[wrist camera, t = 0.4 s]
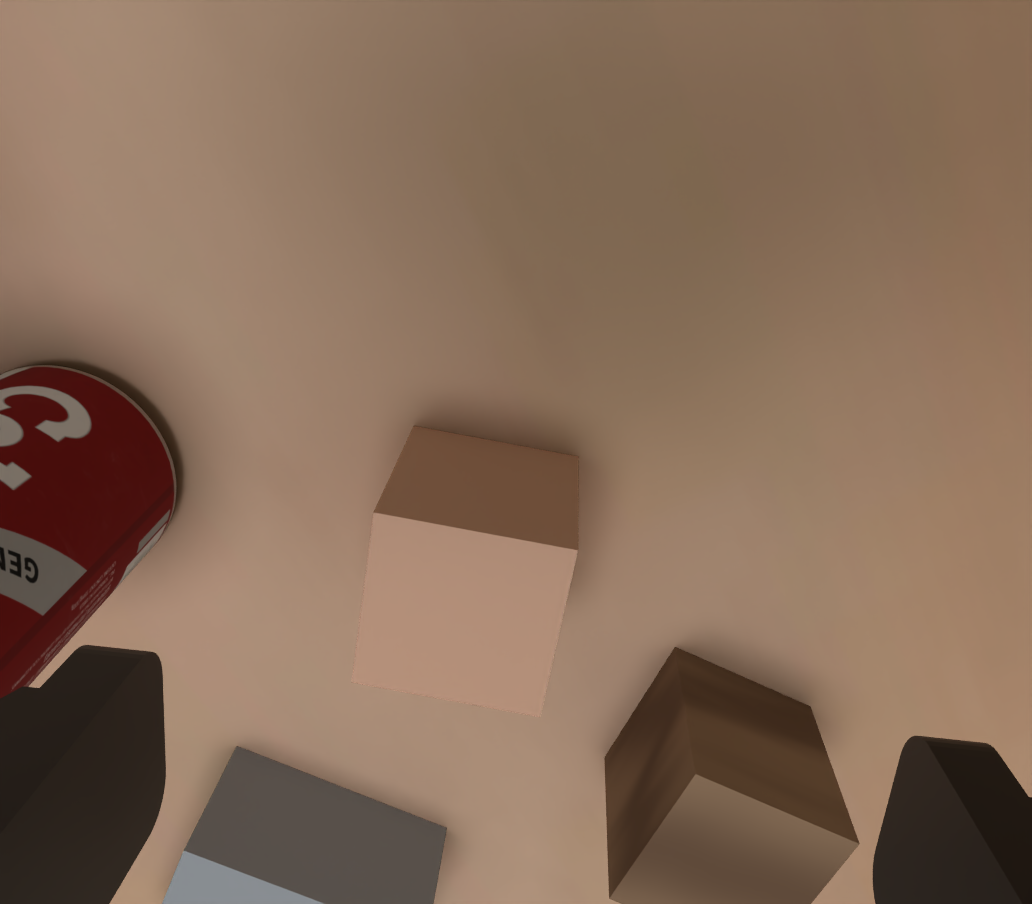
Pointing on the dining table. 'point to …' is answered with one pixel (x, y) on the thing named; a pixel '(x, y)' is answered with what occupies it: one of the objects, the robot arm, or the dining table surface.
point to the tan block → (469, 571)
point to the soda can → (70, 507)
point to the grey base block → (303, 844)
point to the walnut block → (721, 795)
